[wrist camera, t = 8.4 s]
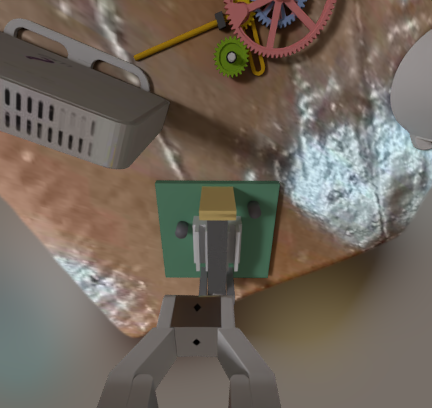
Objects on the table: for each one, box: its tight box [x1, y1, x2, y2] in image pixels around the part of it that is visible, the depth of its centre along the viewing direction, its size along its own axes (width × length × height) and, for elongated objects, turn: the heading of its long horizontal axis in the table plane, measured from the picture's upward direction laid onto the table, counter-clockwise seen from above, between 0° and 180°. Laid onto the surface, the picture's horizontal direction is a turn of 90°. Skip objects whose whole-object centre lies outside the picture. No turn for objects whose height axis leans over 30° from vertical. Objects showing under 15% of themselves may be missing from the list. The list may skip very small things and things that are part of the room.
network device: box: [0, 19, 170, 169], centre depth 26 cm, size 26×9×20 cm, turn 68°
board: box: [155, 181, 280, 306], centre depth 43 cm, size 20×20×9 cm
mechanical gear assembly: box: [134, 0, 336, 78], centre depth 30 cm, size 30×4×15 cm
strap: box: [207, 220, 228, 295], centre depth 41 cm, size 3×16×1 cm, turn 0°
